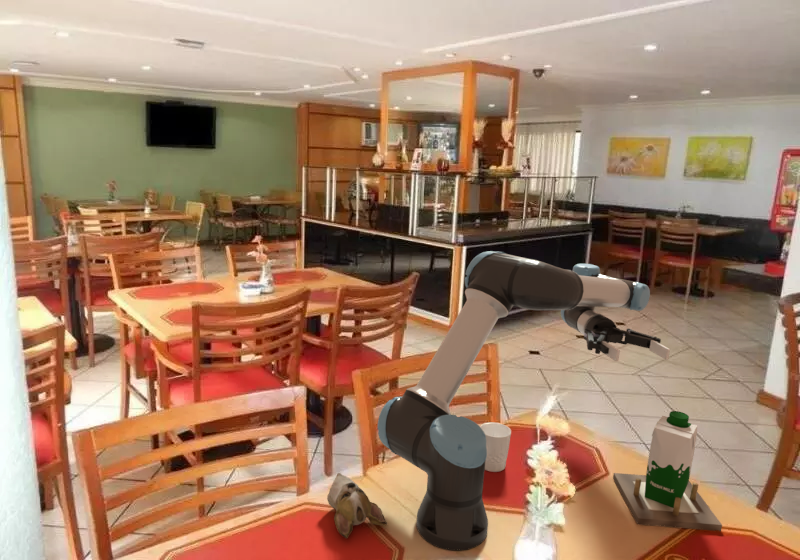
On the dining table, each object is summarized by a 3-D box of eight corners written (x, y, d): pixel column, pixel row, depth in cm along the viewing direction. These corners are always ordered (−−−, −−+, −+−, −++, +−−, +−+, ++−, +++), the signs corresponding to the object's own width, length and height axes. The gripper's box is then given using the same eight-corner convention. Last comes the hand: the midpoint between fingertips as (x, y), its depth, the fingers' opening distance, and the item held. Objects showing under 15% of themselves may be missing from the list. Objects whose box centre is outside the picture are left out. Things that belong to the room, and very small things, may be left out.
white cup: (471, 466, 146) (474, 430, 144) (485, 453, 153) (488, 419, 150) (499, 477, 142) (503, 440, 140) (512, 463, 148) (516, 428, 146)
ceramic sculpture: (360, 460, 130) (391, 499, 118) (358, 492, 133) (389, 534, 120) (316, 472, 125) (344, 514, 113) (315, 505, 128) (342, 550, 115)
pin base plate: (637, 524, 126) (640, 502, 125) (612, 478, 144) (615, 458, 143) (721, 530, 126) (725, 508, 124) (686, 483, 143) (689, 464, 142)
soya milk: (688, 495, 135) (702, 417, 131) (679, 513, 128) (694, 431, 124) (649, 480, 140) (661, 405, 136) (639, 497, 133) (651, 419, 129)
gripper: (635, 339, 163) (685, 367, 143) (554, 341, 158) (594, 371, 137) (639, 314, 161) (690, 339, 141) (557, 315, 156) (598, 341, 136)
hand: (643, 355), depth 139 cm, fingers open, 13 cm apart
